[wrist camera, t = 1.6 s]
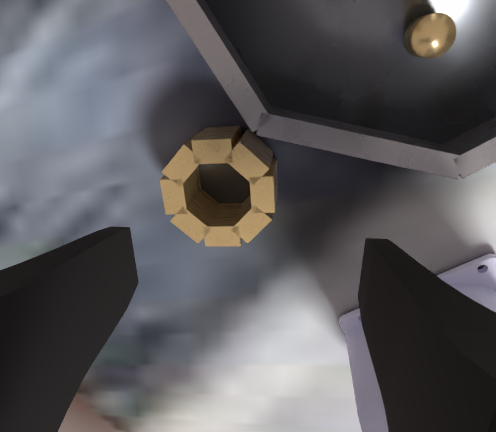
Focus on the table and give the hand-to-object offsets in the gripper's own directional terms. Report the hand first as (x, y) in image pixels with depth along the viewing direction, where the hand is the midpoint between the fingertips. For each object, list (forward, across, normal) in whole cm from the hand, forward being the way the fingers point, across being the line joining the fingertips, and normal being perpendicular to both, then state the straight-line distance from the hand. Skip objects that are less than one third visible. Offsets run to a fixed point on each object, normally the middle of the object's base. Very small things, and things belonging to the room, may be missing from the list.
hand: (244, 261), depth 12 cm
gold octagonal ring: (+10, +2, 0) cm, 10 cm away
